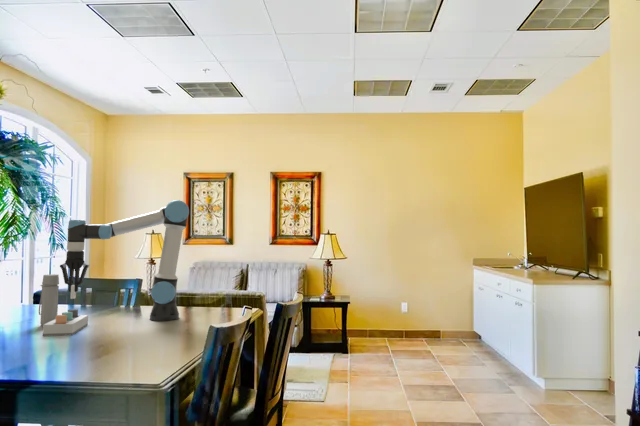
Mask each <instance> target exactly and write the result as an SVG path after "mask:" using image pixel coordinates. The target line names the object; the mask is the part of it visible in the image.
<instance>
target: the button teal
mask: <svg viewBox="0 0 640 426" xmlns="http://www.w3.org/2000/svg"><path fill="white" fill-rule="evenodd" d="M61 315H67V321H72V317H73V312H68V311H65V312H61Z"/></svg>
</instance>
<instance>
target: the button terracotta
mask: <svg viewBox="0 0 640 426" xmlns="http://www.w3.org/2000/svg"><path fill="white" fill-rule="evenodd" d="M66 323H67V315H62V314H57V316H56V323H55V324H66Z"/></svg>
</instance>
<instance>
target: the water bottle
mask: <svg viewBox="0 0 640 426" xmlns="http://www.w3.org/2000/svg"><path fill="white" fill-rule="evenodd" d="M59 277H60V276H59V274H57V273H56V274H55V273H54V274H53V273H52V274H43V277H42V282H41V283H42V284H40V285H39V287H41V291H40V300H39V305H38V306H39V307H38V315H39V316H40V325H41V326H42V327H43V325H44V324H46V323H48V322H50V321H52V320H54V319H56V316H57V315H58V309H59V308H58V306H59V289H60V288H59V284H60V278H59Z"/></svg>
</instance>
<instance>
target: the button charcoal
mask: <svg viewBox="0 0 640 426" xmlns="http://www.w3.org/2000/svg"><path fill="white" fill-rule="evenodd" d="M67 312H73V317H72V318H77V317H78V315H79V309H76V308H75V309H74V308H73V309H67Z"/></svg>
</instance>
